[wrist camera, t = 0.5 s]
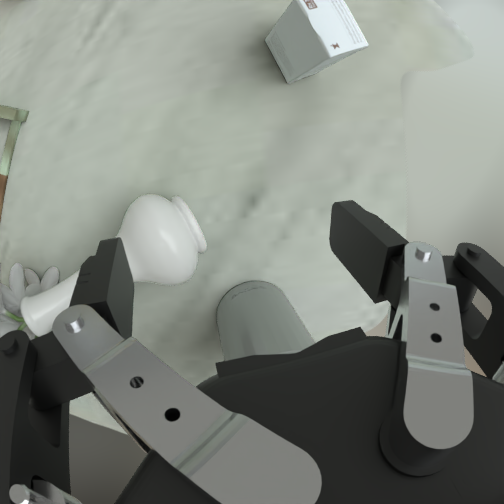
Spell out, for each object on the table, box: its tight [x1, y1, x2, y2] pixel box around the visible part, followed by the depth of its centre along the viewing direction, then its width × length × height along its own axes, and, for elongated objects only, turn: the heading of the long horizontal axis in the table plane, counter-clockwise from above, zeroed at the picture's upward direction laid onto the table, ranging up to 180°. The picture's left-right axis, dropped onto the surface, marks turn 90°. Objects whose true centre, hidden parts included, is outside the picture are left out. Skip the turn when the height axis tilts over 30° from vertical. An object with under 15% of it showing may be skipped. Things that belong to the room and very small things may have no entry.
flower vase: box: [0, 194, 207, 340], centre depth 28 cm, size 13×18×25 cm
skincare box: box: [265, 0, 368, 84], centre depth 25 cm, size 6×4×12 cm
